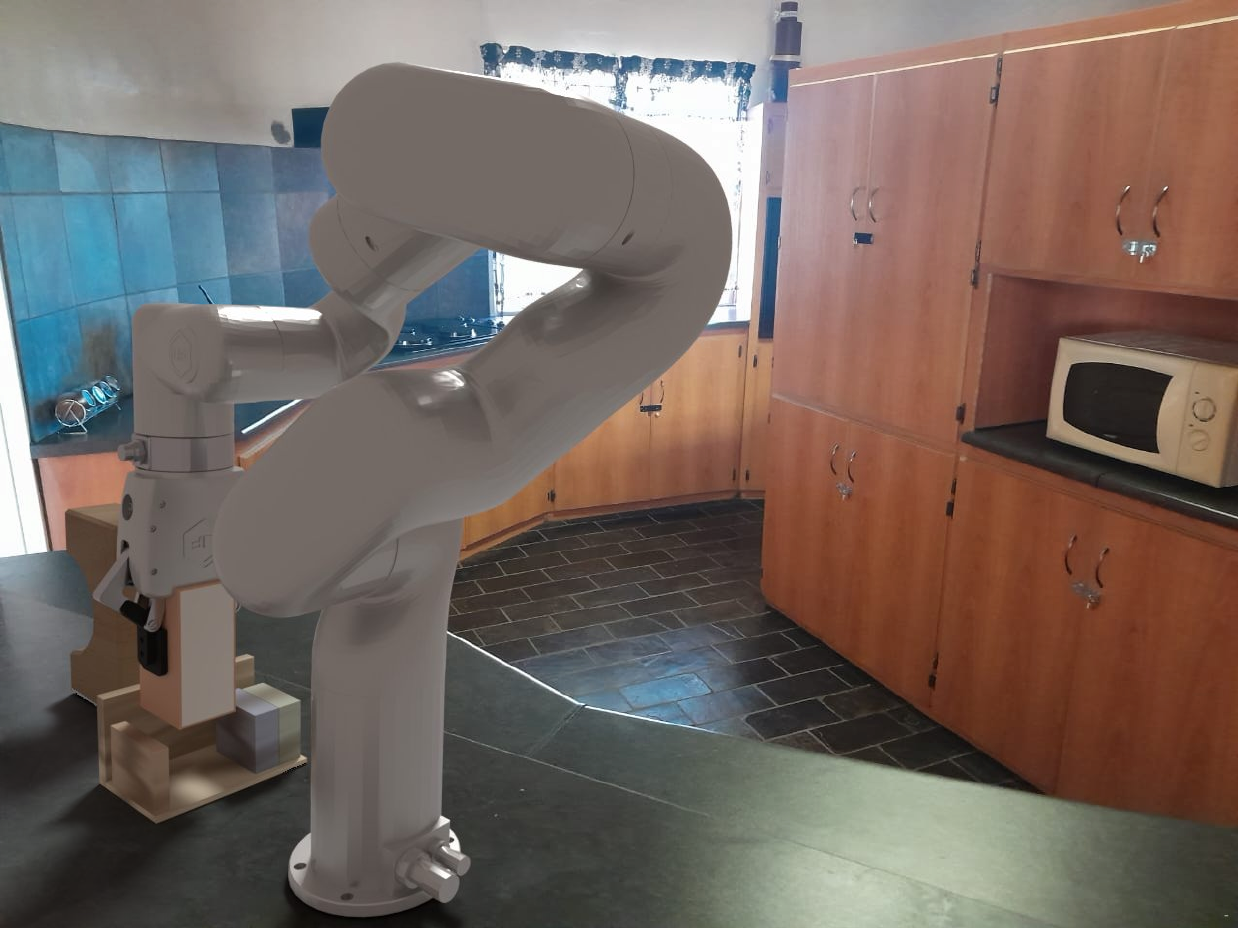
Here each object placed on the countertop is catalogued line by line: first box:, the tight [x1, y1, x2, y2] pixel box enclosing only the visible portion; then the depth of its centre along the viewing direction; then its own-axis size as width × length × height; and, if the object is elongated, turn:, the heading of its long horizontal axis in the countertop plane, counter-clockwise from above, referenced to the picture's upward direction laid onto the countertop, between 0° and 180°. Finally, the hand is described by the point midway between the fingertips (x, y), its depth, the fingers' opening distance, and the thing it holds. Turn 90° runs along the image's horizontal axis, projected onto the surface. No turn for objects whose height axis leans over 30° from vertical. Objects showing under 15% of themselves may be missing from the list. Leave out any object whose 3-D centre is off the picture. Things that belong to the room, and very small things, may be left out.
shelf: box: [96, 653, 308, 824], centre depth 82 cm, size 10×14×8 cm
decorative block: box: [64, 502, 140, 704], centre depth 95 cm, size 11×6×20 cm, turn 52°
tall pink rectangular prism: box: [139, 580, 237, 730], centre depth 79 cm, size 6×5×12 cm
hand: (187, 660), depth 79 cm, fingers closed on tall pink rectangular prism, 5 cm apart
